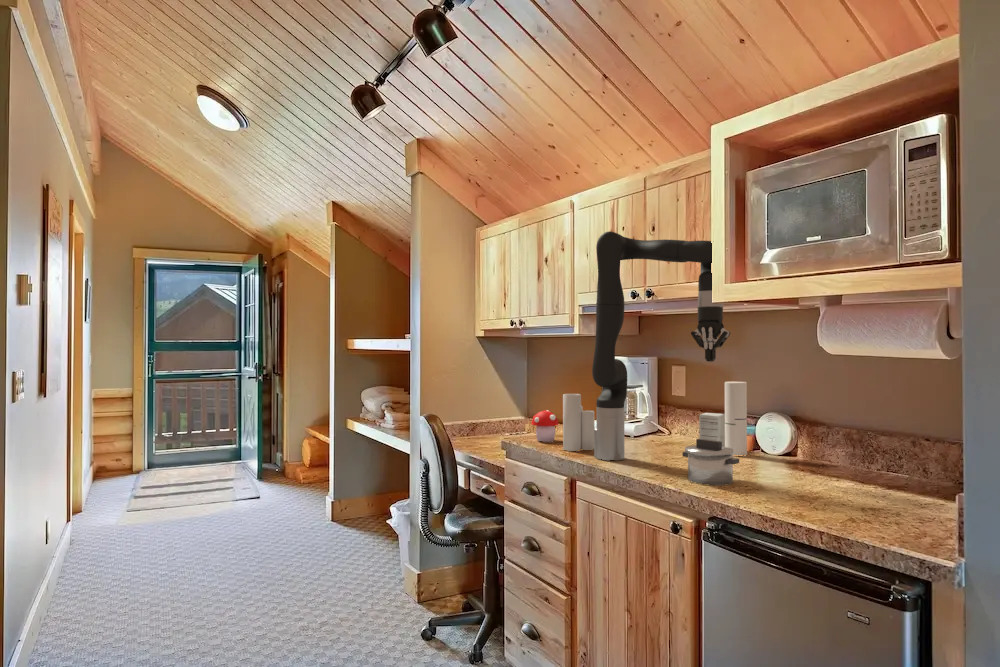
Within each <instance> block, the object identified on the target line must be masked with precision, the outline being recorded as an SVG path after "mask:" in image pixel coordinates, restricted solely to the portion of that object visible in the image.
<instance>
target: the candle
mask: <svg viewBox="0 0 1000 667" xmlns="http://www.w3.org/2000/svg"><path fill="white" fill-rule="evenodd" d="M594 429H596V428H595V411H594V410H584V406H583V405H582V394H580V393H564V394H562V450H563V451H564V450H567V451H566V452H571V451H576V452H579V451H578V450H581V449H583V450H593V449H594ZM583 450H581V451H583ZM593 451H594V450H593Z"/></svg>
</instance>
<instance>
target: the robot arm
mask: <svg viewBox="0 0 1000 667" xmlns="http://www.w3.org/2000/svg"><path fill="white" fill-rule="evenodd" d="M711 241H712V240H683V239H650V240H649V239H648V240H645V239H643V240H642V239H634V238H629V237H626V236H623V235H621V234H620V233H617V232H614V231H605V232H604V233H602V234H601V235H599V238H598V239H597V242H596V245H595V246H596V260H597V286H596V289H597V290H596V304H595V306H596V307H595V308H596V309H595V320H596V321H595V344H594V353H593V360H592V366H591V367H592V368H591V370H592V371H591V372H592V379H593V380H594V383H595V384H596V385H597V386H599V387H601V388H602V389H601V393H600V394H599V396H598V397H597V398H596V401H595V402H596V410H595V411H596V412H595V413H596V428H595V429H594V450H593V454H594V455H593V457H594V458H596V459H598V460H601V459H602V460H601V461H610V460H615V461H623V460H625V402H626V399H627V395H628V369H627V367H626V364H625V363H624V361H622V360H620V359H618V358H616V344H617V341H618V337H619V335H620V333H621V330H622V327H623V324H624V321H625V320H624V319H625V295H624V290H623V286H622V282H621V281H622V280H621V275H620V272H621V271H620V270H621V269H620V268H621V261H626V260H628V261H629V260H649V261H659V262H660V261H661V262H669V263H688V262H691V263H699V264H700V274H699V276H698V282H697V283H698V295H697V321H698V324H697V325H696V329H695V330H693V331H691V332H690V334H691V336H692V337H693V338H692V339H694V341H695V342H696V344H697V345H698V347H699V348H703V349H704V359H705V360H706V362H709V363H710V362H711V363H712V362H715V360H716V359H717V358H716V356H717V354H716V353H717V352H716V350H717V349H718V348H722V347H723V346H724V344H725V342H726V341H727V340H728V338H729V337H730V335H731V331H729V330H727V329H726V328H725V326H724V323H723V321H724V303H723V304H713V303H712V273H711V263H712V243H711Z"/></svg>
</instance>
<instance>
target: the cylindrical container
mask: <svg viewBox="0 0 1000 667" xmlns="http://www.w3.org/2000/svg"><path fill="white" fill-rule="evenodd" d="M747 384H748V383H747V381H725V382H724V414H725V447H728V448H731V449H733V455H738V456H739V455H747V456H748V415H747V414H748V409H747V408H748V406H747V405H748V404H747V402H748V400H747V398H748V397H747V396H748V395H747V393H748V392H747V391H748V390H747V388H748V387H747V386H748V385H747Z"/></svg>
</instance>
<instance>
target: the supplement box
mask: <svg viewBox="0 0 1000 667" xmlns="http://www.w3.org/2000/svg"><path fill="white" fill-rule="evenodd" d="M698 417H699V418H698V420H699V422H698V424H699V425H698V426H699V431H698V432H699V434H698V435H699V437H698V439H706V440H714V441H721V442H722V447H725V413H717V412H716V413H715V412H704V413H700V414H699V415H698Z"/></svg>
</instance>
